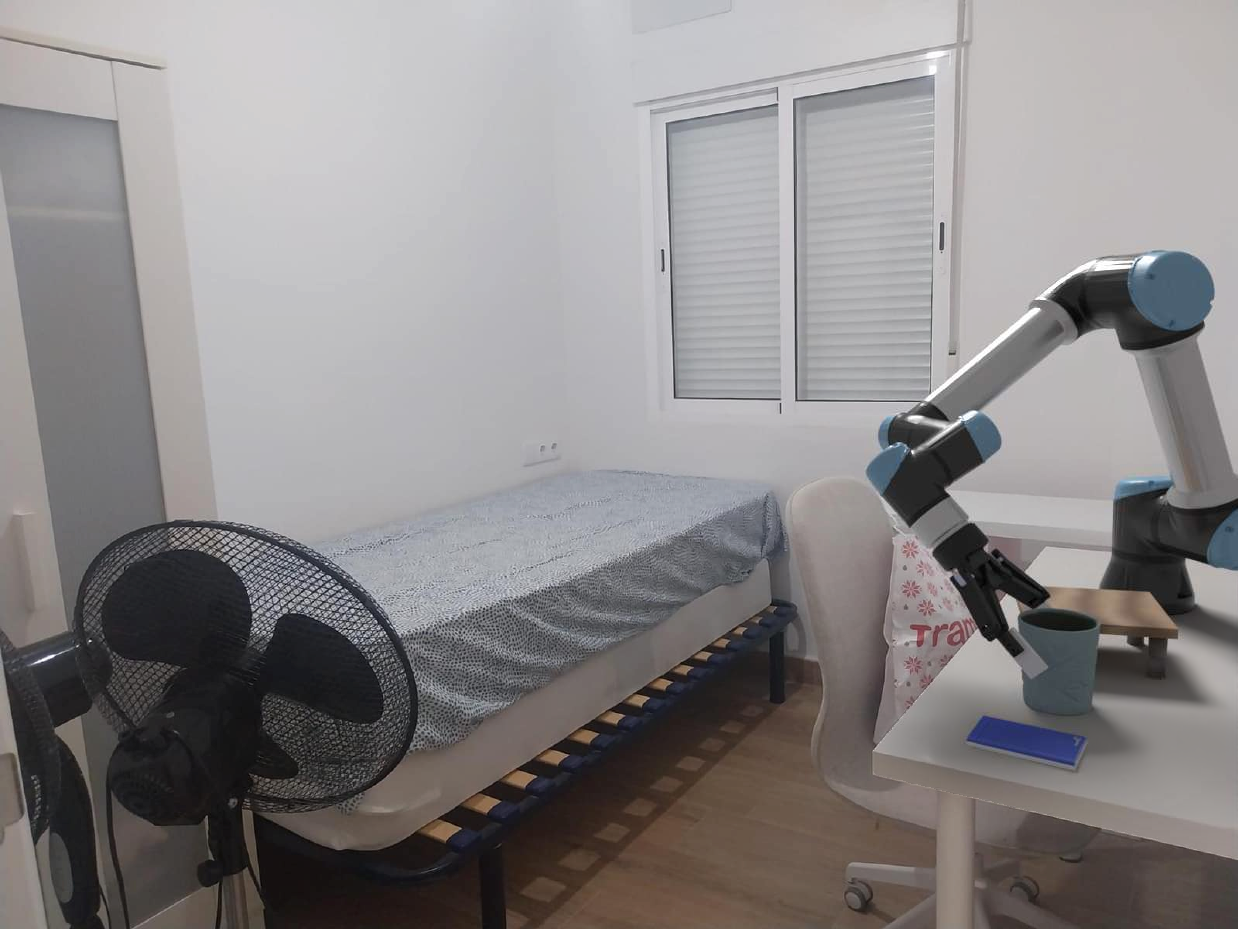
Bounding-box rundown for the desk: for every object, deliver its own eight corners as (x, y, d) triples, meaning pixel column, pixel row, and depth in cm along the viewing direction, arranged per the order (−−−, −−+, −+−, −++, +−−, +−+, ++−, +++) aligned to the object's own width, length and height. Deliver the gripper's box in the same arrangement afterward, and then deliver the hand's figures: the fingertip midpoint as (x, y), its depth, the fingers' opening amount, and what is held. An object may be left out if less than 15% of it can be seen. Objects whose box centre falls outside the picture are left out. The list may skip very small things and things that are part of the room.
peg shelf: (1146, 639, 147) (1149, 591, 146) (1175, 682, 130) (1178, 629, 129) (1012, 630, 154) (1014, 584, 152) (1023, 670, 137) (1025, 619, 135)
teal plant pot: (1106, 720, 120) (1110, 633, 118) (1024, 716, 122) (1027, 630, 120) (1083, 689, 129) (1087, 608, 127) (1008, 685, 131) (1010, 606, 130)
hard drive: (1087, 735, 113) (984, 713, 121) (1075, 762, 107) (966, 737, 114) (1087, 747, 114) (983, 724, 121) (1074, 774, 107) (966, 749, 114)
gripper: (964, 534, 143) (1062, 646, 135) (894, 570, 125) (1003, 701, 117) (1000, 505, 139) (1103, 618, 131) (933, 538, 120) (1048, 672, 113)
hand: (1056, 658), depth 124 cm, fingers open, 13 cm apart
